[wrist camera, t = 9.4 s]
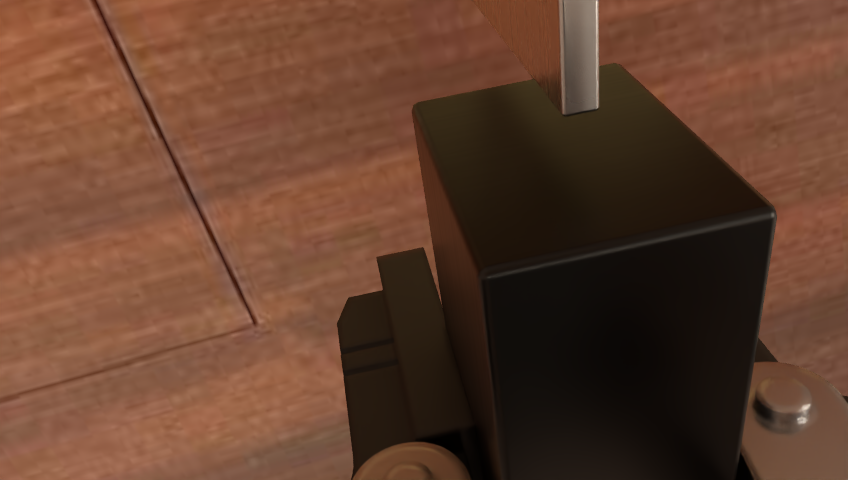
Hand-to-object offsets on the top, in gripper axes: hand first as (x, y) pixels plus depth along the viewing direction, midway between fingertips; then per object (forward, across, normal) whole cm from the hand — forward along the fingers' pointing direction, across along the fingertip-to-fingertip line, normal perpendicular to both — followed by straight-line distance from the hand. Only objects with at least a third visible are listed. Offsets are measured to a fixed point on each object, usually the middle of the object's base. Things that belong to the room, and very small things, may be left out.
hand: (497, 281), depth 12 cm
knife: (0, 0, -5) cm, 5 cm away
